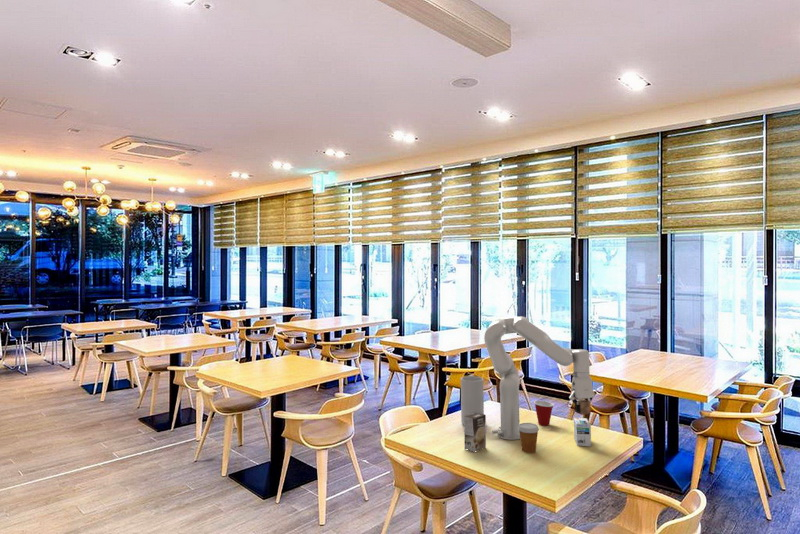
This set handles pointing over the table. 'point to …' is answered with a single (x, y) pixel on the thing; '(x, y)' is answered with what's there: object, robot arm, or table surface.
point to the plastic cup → (543, 412)
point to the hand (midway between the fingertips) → (582, 411)
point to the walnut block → (584, 407)
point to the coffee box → (475, 431)
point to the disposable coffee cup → (528, 437)
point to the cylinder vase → (471, 396)
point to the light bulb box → (582, 432)
